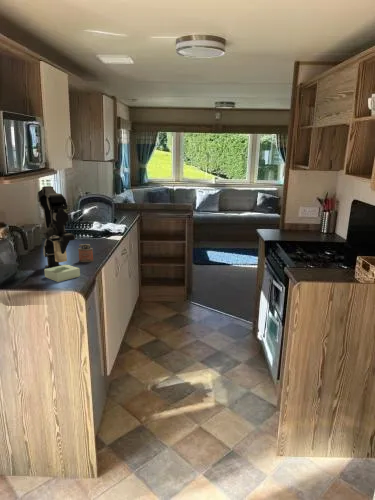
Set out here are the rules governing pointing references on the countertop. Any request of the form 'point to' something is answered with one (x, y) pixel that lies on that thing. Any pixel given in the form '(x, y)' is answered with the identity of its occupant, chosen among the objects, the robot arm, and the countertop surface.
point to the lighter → (85, 253)
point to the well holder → (62, 272)
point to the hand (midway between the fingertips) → (60, 253)
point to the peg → (59, 253)
